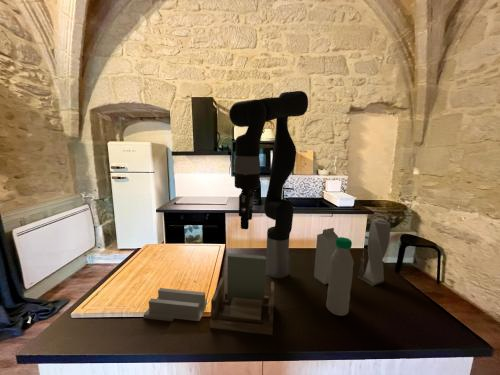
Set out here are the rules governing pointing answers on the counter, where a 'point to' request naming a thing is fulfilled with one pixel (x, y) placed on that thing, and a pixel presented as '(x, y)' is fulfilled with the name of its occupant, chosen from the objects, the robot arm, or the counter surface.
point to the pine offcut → (246, 308)
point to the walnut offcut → (236, 319)
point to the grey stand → (176, 305)
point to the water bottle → (340, 278)
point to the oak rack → (217, 322)
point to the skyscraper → (375, 251)
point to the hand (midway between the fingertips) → (246, 223)
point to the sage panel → (246, 276)
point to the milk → (324, 254)
